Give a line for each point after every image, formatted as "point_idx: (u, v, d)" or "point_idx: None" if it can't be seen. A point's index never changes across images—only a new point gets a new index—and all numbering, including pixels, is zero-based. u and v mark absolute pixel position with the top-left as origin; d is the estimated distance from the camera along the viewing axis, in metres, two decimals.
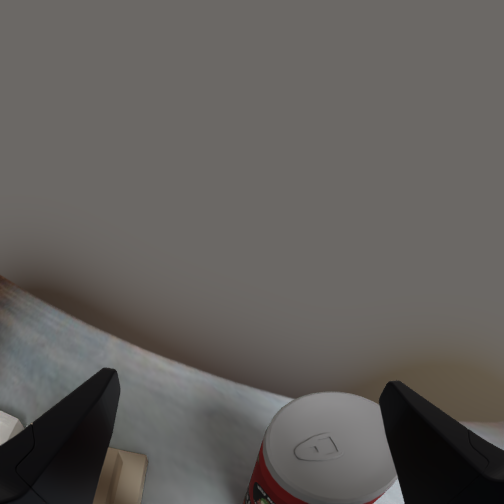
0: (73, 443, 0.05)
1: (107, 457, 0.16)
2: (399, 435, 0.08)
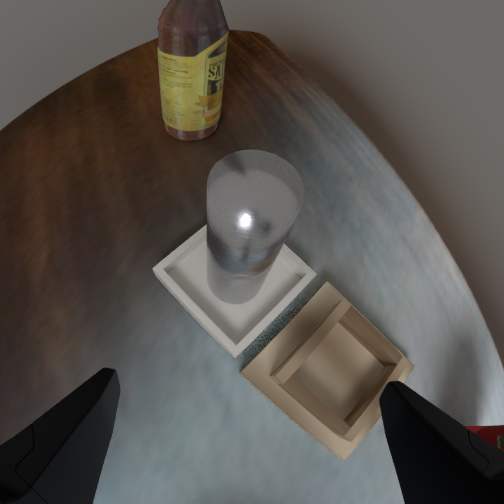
0: (73, 443, 0.05)
1: (398, 365, 0.20)
2: (399, 435, 0.08)
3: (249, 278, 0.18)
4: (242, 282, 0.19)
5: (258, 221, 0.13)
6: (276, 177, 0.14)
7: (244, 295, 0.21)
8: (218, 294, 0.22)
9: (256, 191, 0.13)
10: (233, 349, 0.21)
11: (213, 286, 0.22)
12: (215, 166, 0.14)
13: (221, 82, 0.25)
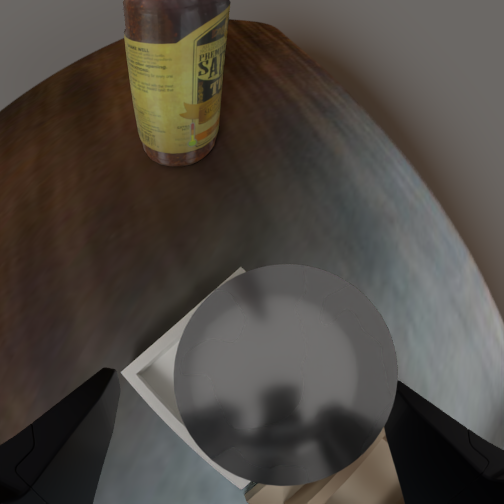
0: (73, 443, 0.05)
1: None
2: (399, 435, 0.08)
3: None
4: None
5: (297, 468, 0.04)
6: (340, 345, 0.06)
7: None
8: None
9: (295, 392, 0.05)
10: (237, 481, 0.13)
11: None
12: (193, 322, 0.05)
13: (219, 83, 0.17)
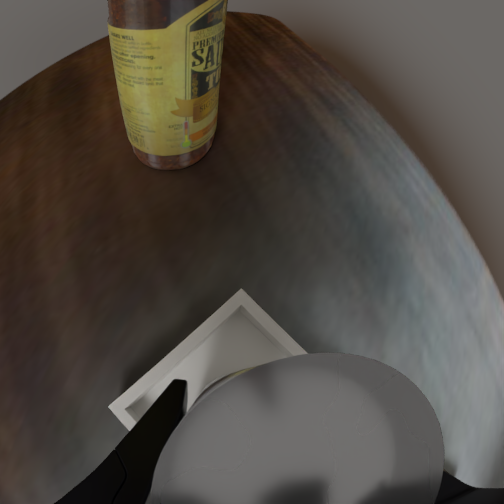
0: None
1: None
2: None
3: None
4: None
5: None
6: (380, 457, 0.03)
7: None
8: None
9: None
10: None
11: None
12: (172, 444, 0.03)
13: (217, 76, 0.15)
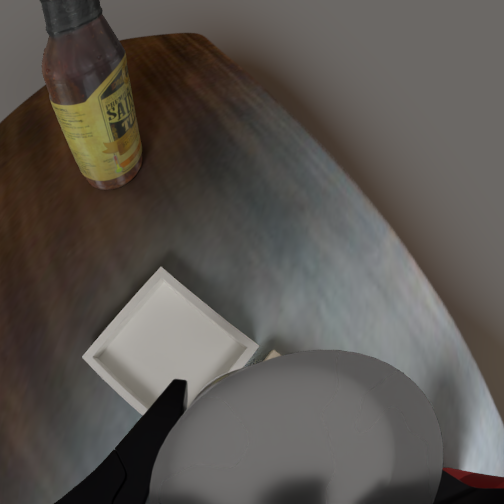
0: None
1: None
2: None
3: None
4: None
5: None
6: (379, 455, 0.03)
7: None
8: None
9: None
10: None
11: None
12: (171, 441, 0.03)
13: (130, 119, 0.21)
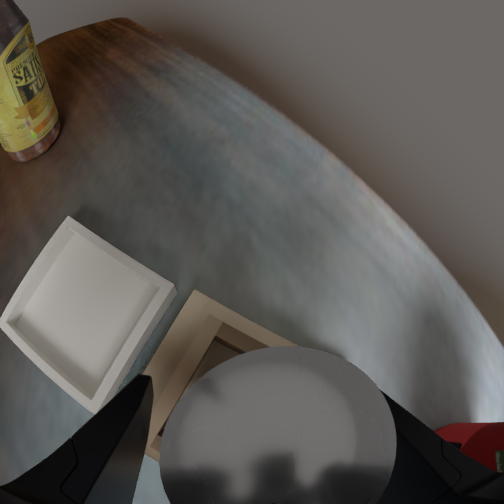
0: (117, 455, 0.05)
1: None
2: None
3: None
4: None
5: None
6: (336, 430, 0.05)
7: None
8: None
9: (287, 479, 0.04)
10: (89, 406, 0.13)
11: None
12: (177, 412, 0.05)
13: (39, 83, 0.17)
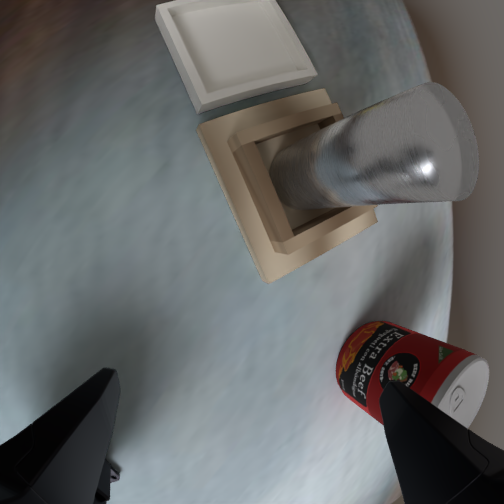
0: (73, 443, 0.05)
1: None
2: (399, 435, 0.08)
3: (338, 199, 0.14)
4: (326, 196, 0.15)
5: (437, 174, 0.08)
6: (465, 148, 0.09)
7: (304, 204, 0.18)
8: (277, 182, 0.18)
9: (448, 144, 0.09)
10: (202, 96, 0.17)
11: (281, 172, 0.17)
12: (428, 84, 0.08)
13: None
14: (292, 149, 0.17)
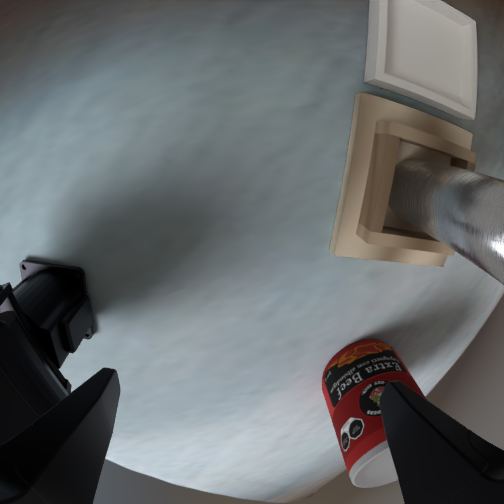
0: (73, 443, 0.05)
1: None
2: (399, 435, 0.08)
3: (437, 230, 0.14)
4: (430, 221, 0.14)
5: None
6: None
7: (405, 214, 0.17)
8: (395, 181, 0.17)
9: None
10: (379, 72, 0.15)
11: (404, 176, 0.17)
12: None
13: None
14: (424, 165, 0.15)
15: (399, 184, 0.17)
